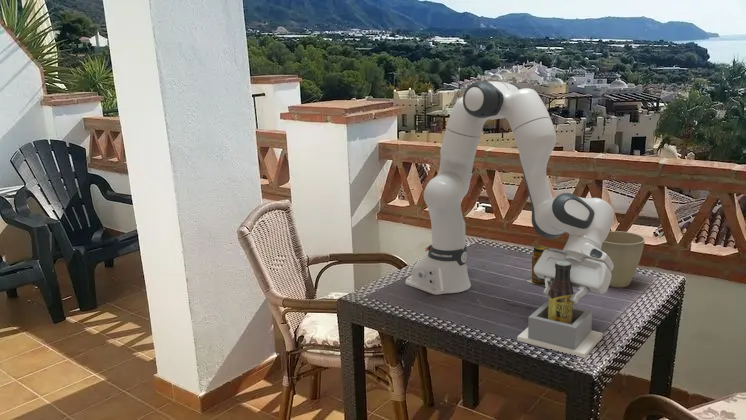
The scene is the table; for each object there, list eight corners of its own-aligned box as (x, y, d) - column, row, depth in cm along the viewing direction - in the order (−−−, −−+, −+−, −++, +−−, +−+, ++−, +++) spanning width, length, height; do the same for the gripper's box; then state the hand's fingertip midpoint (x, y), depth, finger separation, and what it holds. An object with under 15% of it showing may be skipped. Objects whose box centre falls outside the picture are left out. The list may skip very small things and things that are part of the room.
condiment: (538, 276, 203) (539, 243, 200) (560, 282, 196) (561, 248, 193) (525, 281, 198) (526, 248, 195) (547, 288, 192) (548, 253, 189)
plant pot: (635, 295, 182) (638, 246, 179) (587, 286, 191) (589, 239, 188) (647, 280, 194) (650, 234, 190) (601, 272, 203) (603, 228, 199)
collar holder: (517, 340, 157) (517, 315, 155) (538, 321, 168) (538, 298, 166) (584, 358, 146) (585, 331, 144) (602, 336, 157) (603, 312, 155)
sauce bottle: (555, 340, 153) (557, 268, 148) (542, 330, 159) (543, 261, 154) (577, 335, 155) (579, 264, 150) (563, 326, 161) (565, 257, 156)
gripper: (541, 240, 163) (521, 283, 159) (612, 255, 148) (591, 303, 144) (550, 251, 167) (530, 293, 163) (620, 267, 152) (599, 314, 148)
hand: (559, 298), depth 154 cm, fingers closed on sauce bottle, 6 cm apart
